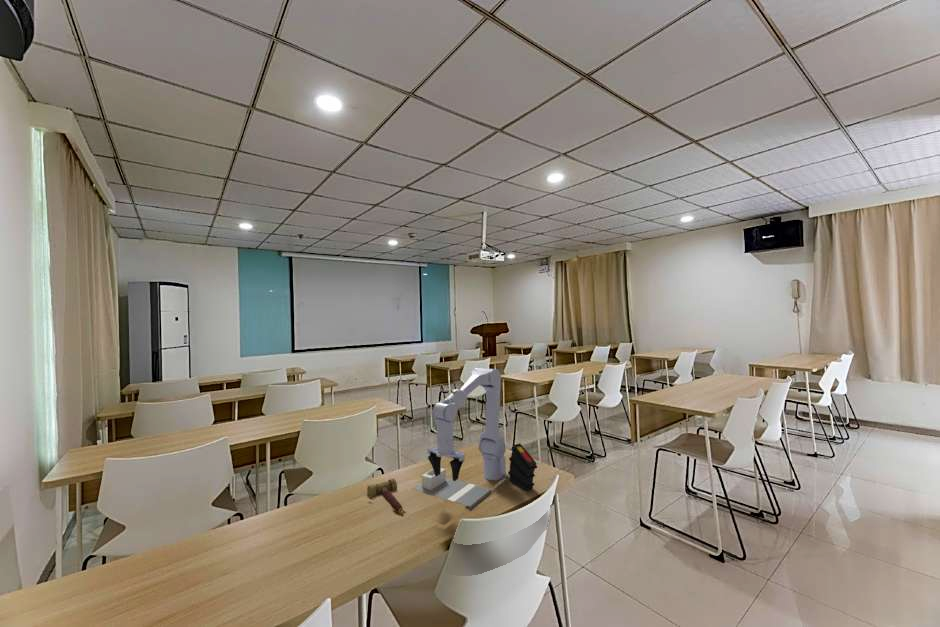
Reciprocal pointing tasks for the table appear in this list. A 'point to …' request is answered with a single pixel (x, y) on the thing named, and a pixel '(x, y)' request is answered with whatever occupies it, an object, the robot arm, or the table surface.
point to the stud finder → (433, 479)
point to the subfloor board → (457, 492)
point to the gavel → (386, 493)
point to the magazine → (522, 468)
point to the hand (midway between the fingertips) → (446, 477)
